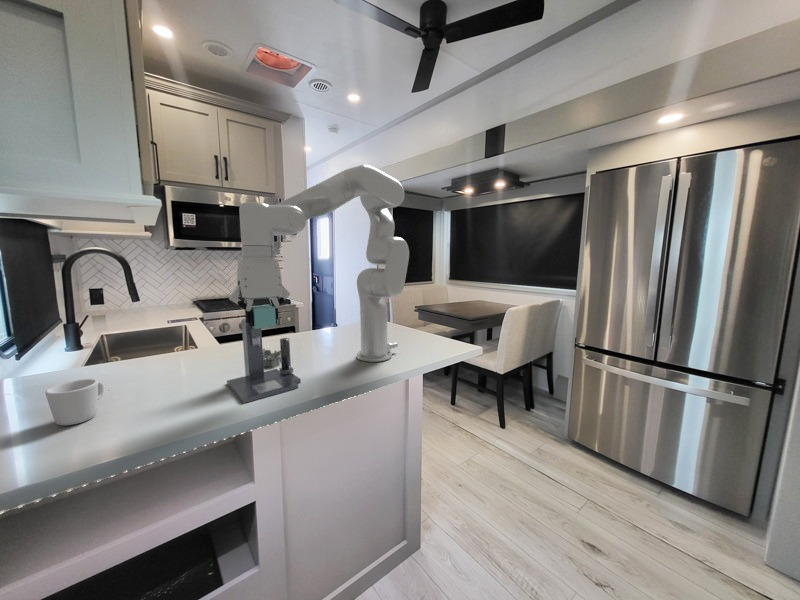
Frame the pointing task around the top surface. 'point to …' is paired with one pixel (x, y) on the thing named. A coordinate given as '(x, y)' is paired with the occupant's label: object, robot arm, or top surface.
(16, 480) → the top surface
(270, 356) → the egg carton
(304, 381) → the top surface
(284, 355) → the lever
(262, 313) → the teal cube block
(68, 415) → the cup
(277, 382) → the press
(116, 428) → the top surface
